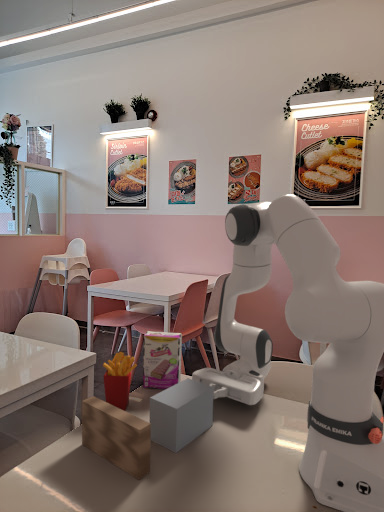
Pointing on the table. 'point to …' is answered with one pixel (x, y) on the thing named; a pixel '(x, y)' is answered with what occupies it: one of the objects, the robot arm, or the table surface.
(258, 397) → the robot arm
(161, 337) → the candy bar box
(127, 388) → the french fries
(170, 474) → the table surface
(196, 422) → the slate block
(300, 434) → the table surface
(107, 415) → the walnut board
